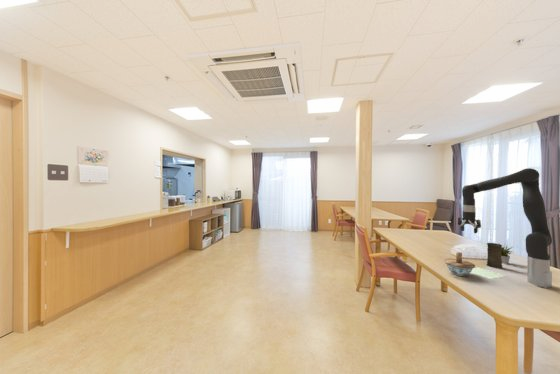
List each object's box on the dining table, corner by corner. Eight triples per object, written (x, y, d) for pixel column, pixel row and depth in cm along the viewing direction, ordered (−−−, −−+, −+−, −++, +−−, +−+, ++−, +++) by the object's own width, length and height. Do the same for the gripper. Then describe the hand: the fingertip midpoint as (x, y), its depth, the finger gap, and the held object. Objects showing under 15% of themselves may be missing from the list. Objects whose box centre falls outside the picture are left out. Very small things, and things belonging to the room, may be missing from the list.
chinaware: (478, 280, 144) (478, 268, 144) (453, 278, 147) (453, 267, 147) (464, 271, 159) (464, 261, 159) (441, 269, 162) (441, 259, 162)
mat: (506, 276, 149) (506, 276, 149) (490, 280, 144) (490, 279, 144) (477, 267, 165) (477, 267, 165) (462, 270, 160) (462, 269, 160)
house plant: (486, 260, 181) (486, 241, 181) (494, 258, 186) (493, 239, 186) (509, 266, 168) (509, 245, 168) (517, 263, 174) (517, 243, 173)
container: (504, 270, 161) (504, 246, 161) (487, 267, 166) (487, 244, 166) (501, 266, 168) (501, 243, 168) (485, 264, 173) (485, 242, 173)
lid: (481, 266, 147) (481, 255, 147) (463, 269, 143) (463, 257, 142) (454, 258, 164) (454, 248, 164) (438, 261, 159) (438, 250, 159)
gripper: (483, 211, 159) (483, 233, 159) (462, 209, 172) (462, 229, 172) (476, 212, 157) (476, 234, 157) (455, 210, 170) (455, 230, 170)
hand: (468, 232), depth 165 cm, fingers open, 8 cm apart
